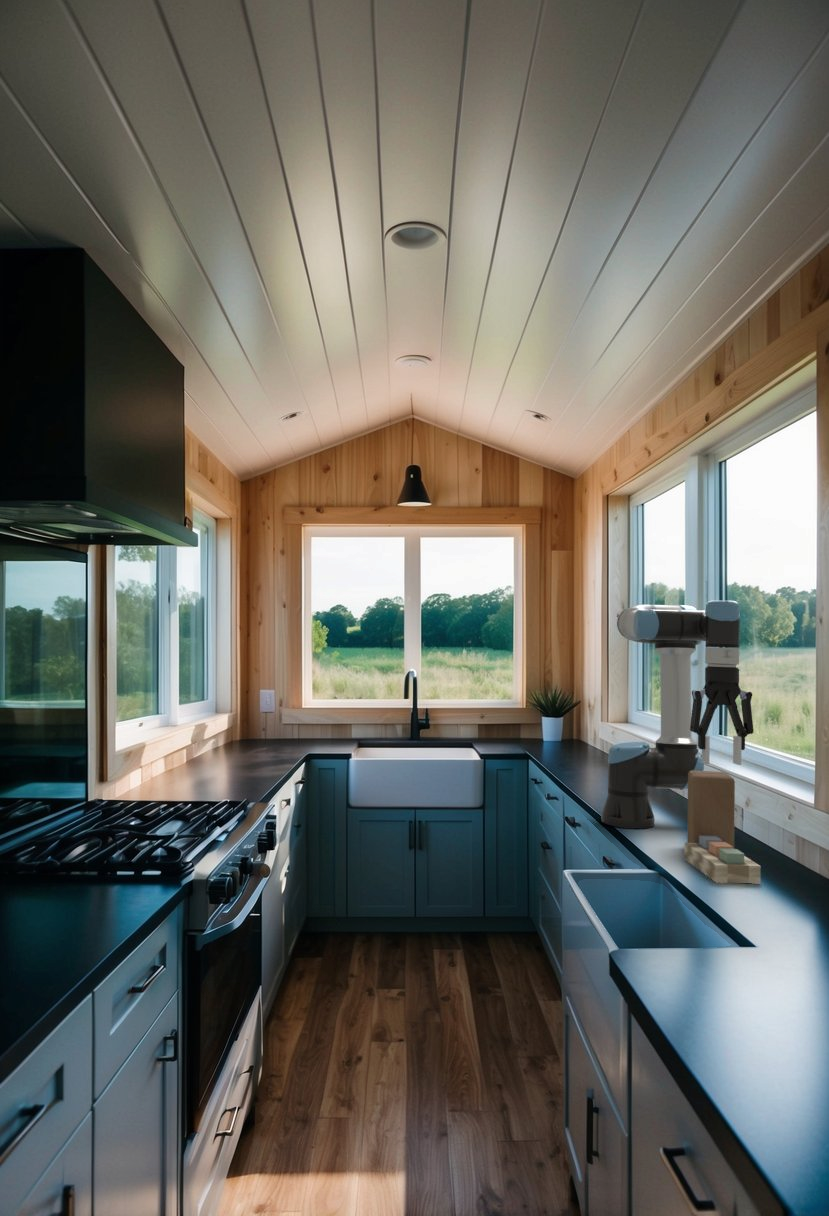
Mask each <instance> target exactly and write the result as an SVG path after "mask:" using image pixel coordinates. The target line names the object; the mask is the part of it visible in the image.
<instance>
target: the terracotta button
mask: <svg viewBox="0 0 829 1216" xmlns="http://www.w3.org/2000/svg"><path fill="white" fill-rule="evenodd" d="M719 849H733V846H731V845H729V844H728V843H726V842H709V853H710V854H712V855H713V856H719Z"/></svg>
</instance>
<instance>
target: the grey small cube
mask: <svg viewBox="0 0 829 1216" xmlns="http://www.w3.org/2000/svg"><path fill="white" fill-rule="evenodd" d="M709 842H722V840H721V839H720V838H718V837H716V836H699V846H700V847H702V848H703V849H709Z"/></svg>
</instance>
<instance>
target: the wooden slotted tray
mask: <svg viewBox="0 0 829 1216" xmlns="http://www.w3.org/2000/svg"><path fill="white" fill-rule="evenodd" d="M685 859H686V860H687V861H686V860H685ZM684 860H685V861H686V862H687V863H689V864H690V863H691V864H692V865H691V864H690V865H691V866H693V865H694V866H695V867H696V868H695V867H694V866H693V867H694V868H695V869H697V870H698V869H699V870H700V871H701V872H700V871H699V870H698V871H699V872H700V873H702V872H703V873H704V874H705V876H706V875H707V876H708V877H709V878H708V877H707V876H706V877H707V878H708V879H710V878H711V879H712V880H713V881H715V882H716V883H715V882H714V883H715V884H719V883H718V882H721V883H720V884H724V883H752V884H751V885H761V876H762V874H761V868H762V867H761V865H760V864H758V863H757V862H755V861H753V860H752V859H751V858H749V857H747V856H746V855H744V864H725V863H723V862H722V861H721V860H719V856H713V855H712V854H710V853H709V849H703V848H702V847H700V846H699V843H687V842H684ZM703 873H702V874H703ZM704 874H703V875H704ZM711 879H710V880H711ZM712 880H711V881H712ZM713 881H712V882H713ZM753 883H754V884H753Z"/></svg>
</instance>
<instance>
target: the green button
mask: <svg viewBox="0 0 829 1216" xmlns="http://www.w3.org/2000/svg"><path fill="white" fill-rule="evenodd" d="M744 856H745V853H744V852H742V851H741V850H739V849H737V848H734V849H719V860H721V861H722V862H723V863H725V864H744Z"/></svg>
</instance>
